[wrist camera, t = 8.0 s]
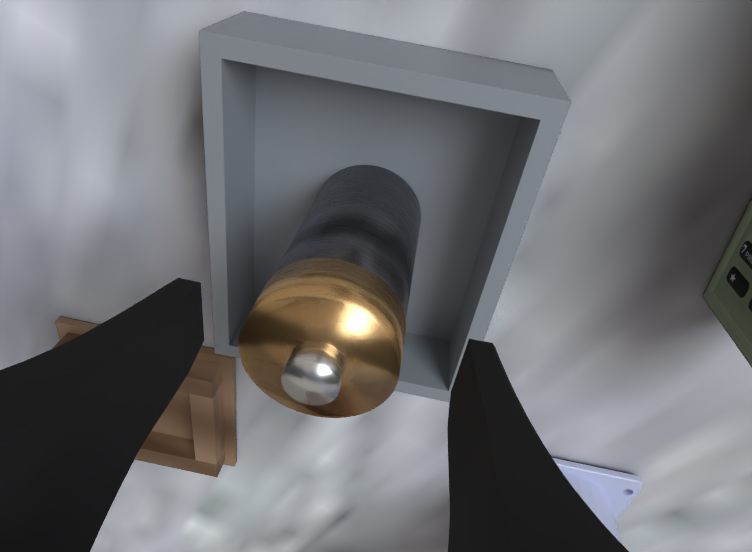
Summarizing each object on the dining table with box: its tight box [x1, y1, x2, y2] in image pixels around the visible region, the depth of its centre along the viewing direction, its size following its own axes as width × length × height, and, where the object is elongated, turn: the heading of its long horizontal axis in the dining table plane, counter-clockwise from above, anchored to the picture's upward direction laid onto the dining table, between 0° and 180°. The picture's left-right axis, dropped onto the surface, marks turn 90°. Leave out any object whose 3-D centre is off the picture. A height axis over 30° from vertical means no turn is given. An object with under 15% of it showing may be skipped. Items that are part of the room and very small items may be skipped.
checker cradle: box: [53, 317, 237, 477], centre depth 28 cm, size 9×9×2 cm
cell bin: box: [199, 11, 571, 402], centre depth 18 cm, size 12×10×4 cm
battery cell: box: [238, 165, 421, 418], centre depth 16 cm, size 4×4×9 cm
